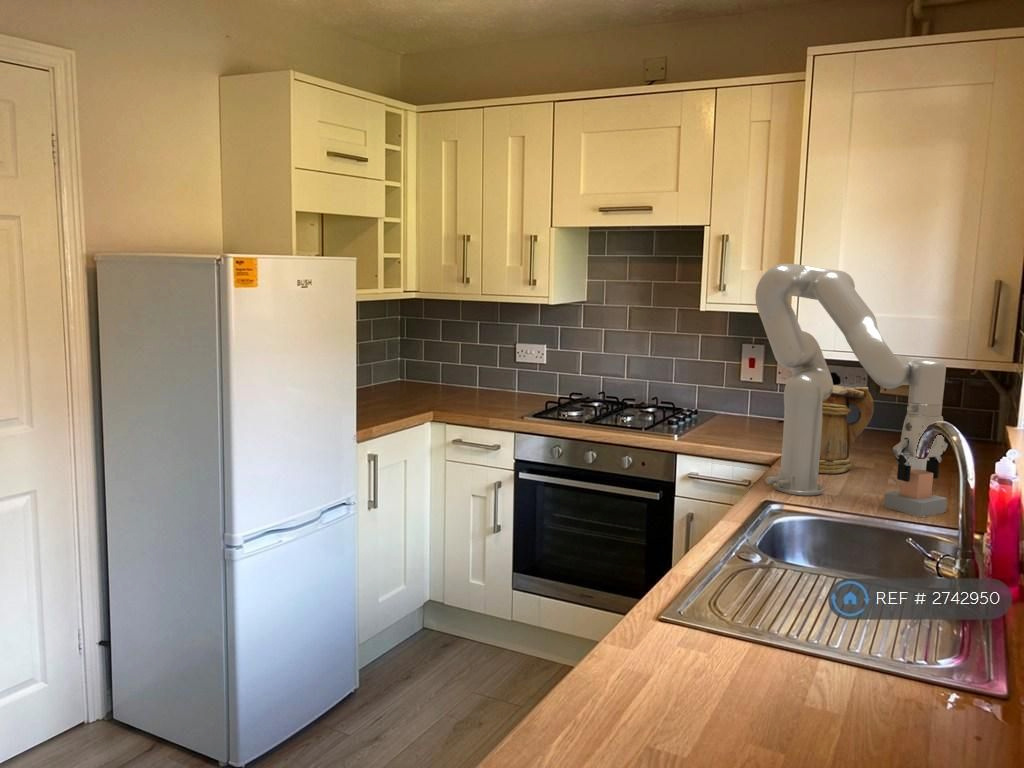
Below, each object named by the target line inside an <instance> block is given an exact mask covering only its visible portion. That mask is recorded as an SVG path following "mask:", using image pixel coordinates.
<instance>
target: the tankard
mask: <svg viewBox="0 0 1024 768" xmlns="http://www.w3.org/2000/svg"><path fill="white" fill-rule="evenodd" d="M851 405H852V406H853V407H856V408H857V409H858V411H859V412H858V415H859V416H858V418H857V419H856V420H855V421H853V422H848V420H847V418H848V417H847V416H848V415H849V414H851V413H852V412H853V410H852V409H851V408H850V406H851ZM874 408H875V407H874V399H873V397H872V395H871V393H870V391H869V387H867V386H861V387H859V386H857V387H850V386H843V385H836V384H833V390H832V393H831V395H830V397H829V398H828V399H827V400H825V401H824V402H822V435H821V447H820V459H819V471H818V474H827V475H828V474H829V475H831V474H835V475H838V474H843V473H846V472H847V471H849V469H850V468H851V467H852V463H851V461H852V460H851V456H850V452H851V448H852V446H853V443H854V442H855V440H856V439H857V438H858V437H859V435H860V434H862V432H864V430H865V429H866V428H867V426H868V425H869V423H870V422H871V420H872V418H873V414H874V410H875V409H874Z"/></svg>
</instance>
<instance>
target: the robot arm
mask: <svg viewBox="0 0 1024 768" xmlns="http://www.w3.org/2000/svg"><path fill="white" fill-rule="evenodd" d="M855 288H856V286H855V282H854V279H853V277H852V276H851V275H850V274H849V273H847V272H846V271H843V270H838V269H835V270H834V269H829V268H828V269H827V268H821V267H815V266H814V267H813V266H809V265H802V264H796V263H780V264H776V265H773V266H772V267H770V268H768V270H766V272H764V274H763V275H762V276H761V277H760V279H759V281H758V283H757V286H756V289H755V294H754V295H755V304H756V309H757V311H758V312H757V313H758V314H759V317H760V320H761V322H762V325H763V328H764V331H765V334H766V337H767V339H768V342H769V345H770V347H771V350H772V354H773V356H774V359H775V360H776V362H777V364H779V365H780V366H782V367H783V368H786V369H789V370H790V373H791V375H792V376H790V378H789V379H788V380H787V382H786V383H785V386H784V390H783V406H784V413H783V415H784V417H783V428H782V430H783V435H782V447H781V460H780V471H777V473H776V475H775V476H767V477H765V484H767V485H773V489H775V490H776V491H778V492H782V493H785V494H789V495H795V496H818V495H822V494H823V493H824V487H823V485H821V484H819V483H818V480H819V473H818V471H819V459H820V447H821V435H822V402H824V401H825V400H827V399H828V398H829V397H830V395H831V393H832V390H833V385H834V382H833V377H832V374H831V372H830V369H829V367H828V364H827V362H826V359H825V357H824V354H823V351H822V349H821V346H820V343H819V342H818V340H817V339H816V338H815V337H814V336H813V335H812V334H811V333H809V332H807V331H803V330H802V329H801V325H800V323H799V321H798V319H797V315H796V312H795V311H794V309H793V307H792V305H791V302H790V297H798V298H799V297H800V298H805V299H809V300H815V301H816V300H817V301H818V302H819V303H820V305H821V306H822V308H823V309H824V310H825V311H826V312H827V315H829V317H830V318H831V319H832V321H833V323H834V324H835V325H836V326H837V328H838V329H839V331H840V332H841V333H842V335H843V336H844V338H845V340H846V343H848V345H849V347H850V349H851V350H852V353H853V354H854V356H855V358H856V359H857V360H858V362H859V363H860V365H861V366H862V367H863V369H864V370H865V371H866V373H867V374H868V376H870V378H871V380H873V381H874V382H875V383H876V384H877V385H878V386H879V387H881V388H884V389H888V390H889V389H895V388H898V387H901V386H905V385H906V386H908V385H909V387H908V396H907V397H908V399H907V407H906V410H907V411H906V415H905V418H904V421H903V426H902V428H901V429H902V430H901V436H900V442H899V443H896V445H894V446H893V447H892V450H893V454H894V458H895V460H896V463H897V464H898V465H897V473H896V479H897V480H900V481H901V480H902V481H906V482H909V480H910V471H911V466H910V465H909V464H910V462H911V461H912V459H913V458H914V457H915V458H917V457H916V449H917V445H918V442H919V439H920V437H921V436H922V434H923V433H924V431H925V430H926V429H927V427H928V426H929V425H930V424H931V423H933V422H936V421H943V422H944V416H942V413H943V411H942V410H943V402H944V401H943V400H944V391H945V382H946V381H945V380H946V373H947V372H946V371H947V364H946V363H945V362H944V361H942V360H939V359H934V358H933V359H932V358H914V357H909V356H905V355H904V356H903V355H899V354H898V355H897V354H894V352H893V351H892V350H891V348H890V347H889V346H888V345H887V343H886V341H885V340H884V338H883V336H882V335H881V333H880V331H879V330H880V329H879V327H878V324H877V323H878V322H877V319H876V316H875V313H873V311H872V309H870V307H869V306H868V305H867V303H866V302H865V301H864V300H863V298H862V297H861V296H860V295H859V293H858V292H857V291H856V289H855ZM948 445H949V444H948V443H947V442H946V441H945V436H944V437H943V436H942V435H937V436H936V438H935V439H934V441H933V444H932V446H931V449H930V452H929V454H928V456H927V457H926V458H929V460H927V464H926V471H927V472H931V473H933V479H938V478H939V472H940V463H942V461H943V459H942V458H943V457H944V456H945V454H946V453H945V452H946V450H947V448H948ZM905 456H907V459H905Z"/></svg>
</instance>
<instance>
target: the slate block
mask: <svg viewBox="0 0 1024 768" xmlns="http://www.w3.org/2000/svg"><path fill="white" fill-rule="evenodd" d="M947 505H948V498H947V497H944V496H941V495H936V494H933V493H932V494H931V497H928V498H921V499H915V498H912V497H908V496H905V495H902V494H900V489H898V490H895V491H893V490H892V491H889V492H884V500H883V508H886V509H889V508H890V509H889V510H892V509H893V511H896V510H897V512H899V511H900V513H903V512H904V513H903V514H906V513H907V514H906V515H909V514H911V515H910V516H913V515H915V516H914V517H916V516H919V517H922V518H924V517H923V516H927V517H930V516H929V515H932V516H935V515H934V514H937V515H940V514H939V513H941V514H945V513H944V512H947ZM919 517H918V518H919Z"/></svg>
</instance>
